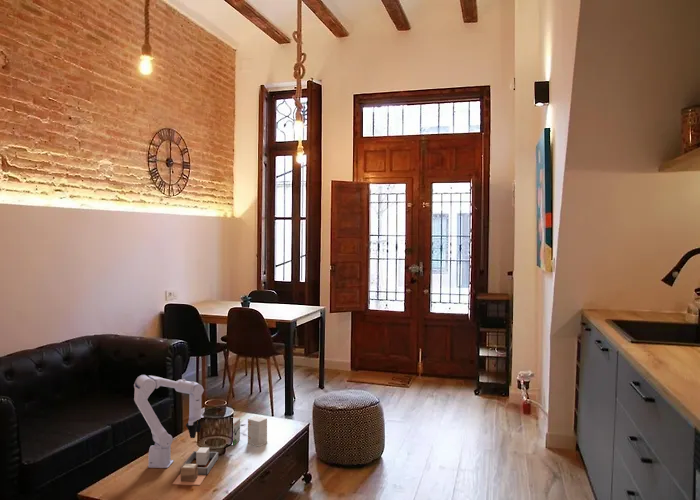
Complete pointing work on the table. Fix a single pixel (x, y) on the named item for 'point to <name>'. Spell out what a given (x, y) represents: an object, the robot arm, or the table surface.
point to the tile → (197, 482)
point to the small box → (257, 430)
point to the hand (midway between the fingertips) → (195, 434)
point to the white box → (202, 456)
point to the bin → (206, 470)
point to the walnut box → (189, 472)
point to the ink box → (236, 430)
